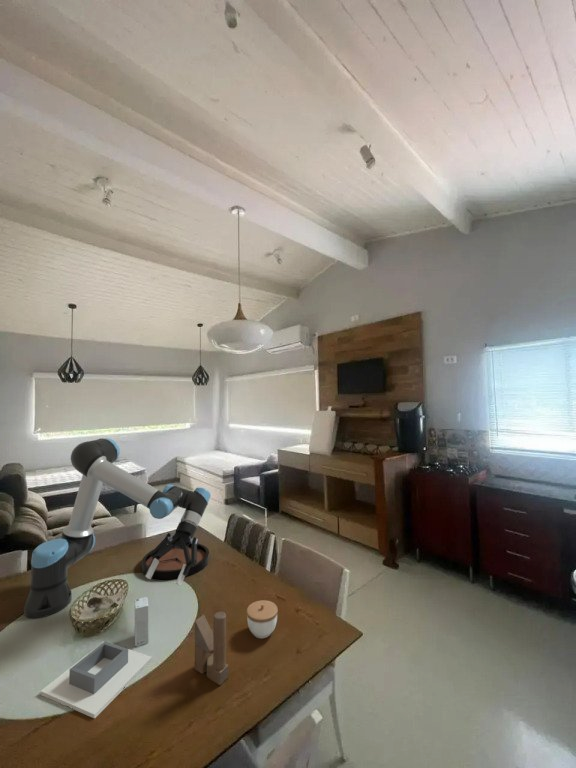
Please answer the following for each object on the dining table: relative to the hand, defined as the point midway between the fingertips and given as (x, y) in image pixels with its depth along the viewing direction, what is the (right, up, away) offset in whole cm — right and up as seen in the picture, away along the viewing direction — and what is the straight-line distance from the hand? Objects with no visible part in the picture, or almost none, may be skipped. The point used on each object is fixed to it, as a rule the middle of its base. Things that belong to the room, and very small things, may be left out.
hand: (162, 581), depth 121 cm
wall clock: (-9, -17, +42) cm, 47 cm away
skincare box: (-4, -14, -10) cm, 17 cm away
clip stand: (-9, -13, -25) cm, 29 cm away
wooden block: (+23, -13, -23) cm, 36 cm away
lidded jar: (+37, -14, -6) cm, 40 cm away
